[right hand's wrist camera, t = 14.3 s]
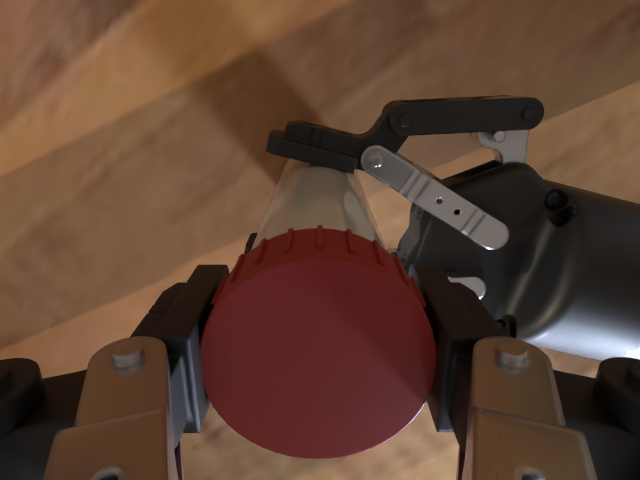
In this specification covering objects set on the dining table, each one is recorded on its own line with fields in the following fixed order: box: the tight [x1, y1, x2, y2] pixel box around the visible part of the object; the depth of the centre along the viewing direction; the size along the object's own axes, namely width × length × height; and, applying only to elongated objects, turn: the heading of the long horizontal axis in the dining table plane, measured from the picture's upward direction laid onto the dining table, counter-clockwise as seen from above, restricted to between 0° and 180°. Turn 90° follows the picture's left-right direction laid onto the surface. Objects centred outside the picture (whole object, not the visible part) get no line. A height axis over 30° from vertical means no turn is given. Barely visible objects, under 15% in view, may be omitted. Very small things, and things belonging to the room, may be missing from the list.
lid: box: [200, 225, 437, 459], centre depth 10 cm, size 5×5×2 cm
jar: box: [251, 158, 387, 251], centre depth 17 cm, size 4×4×17 cm
